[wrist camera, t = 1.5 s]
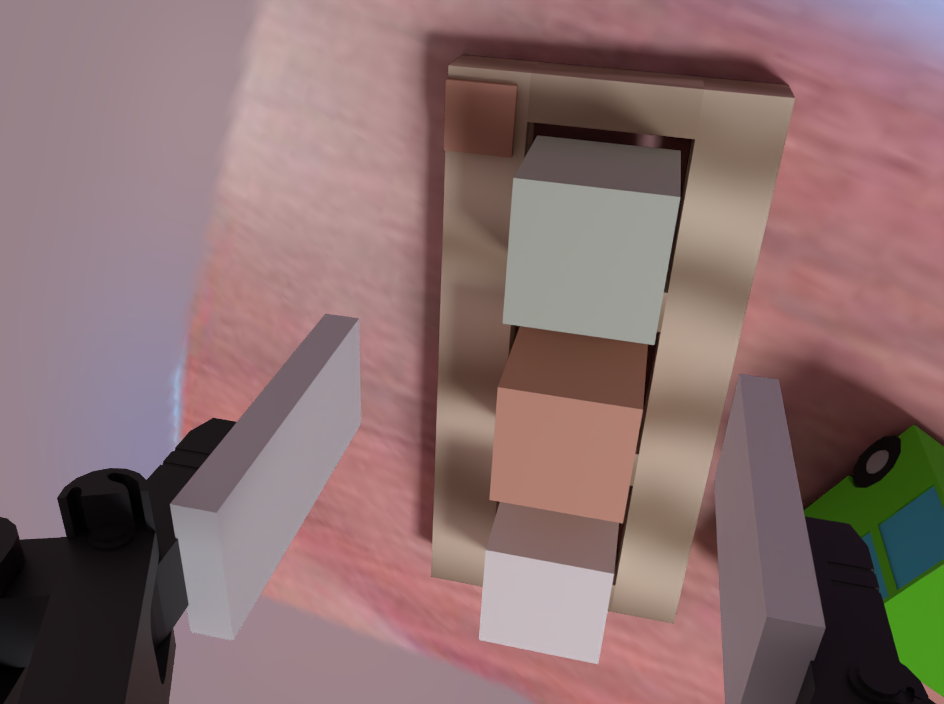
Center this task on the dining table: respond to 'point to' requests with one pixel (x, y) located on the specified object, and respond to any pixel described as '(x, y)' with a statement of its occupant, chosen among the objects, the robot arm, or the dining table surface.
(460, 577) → the board
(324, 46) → the dining table surface
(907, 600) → the toy car
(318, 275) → the dining table surface
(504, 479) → the terracotta button
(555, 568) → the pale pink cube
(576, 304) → the sage button
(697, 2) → the dining table surface
